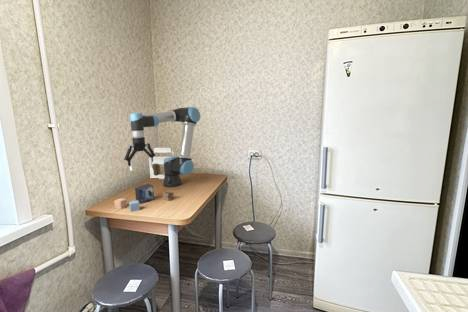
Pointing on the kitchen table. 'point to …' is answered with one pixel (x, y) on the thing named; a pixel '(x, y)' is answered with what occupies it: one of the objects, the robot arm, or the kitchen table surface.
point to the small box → (144, 193)
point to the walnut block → (168, 196)
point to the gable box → (155, 167)
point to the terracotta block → (120, 203)
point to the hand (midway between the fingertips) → (141, 168)
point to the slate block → (134, 206)
